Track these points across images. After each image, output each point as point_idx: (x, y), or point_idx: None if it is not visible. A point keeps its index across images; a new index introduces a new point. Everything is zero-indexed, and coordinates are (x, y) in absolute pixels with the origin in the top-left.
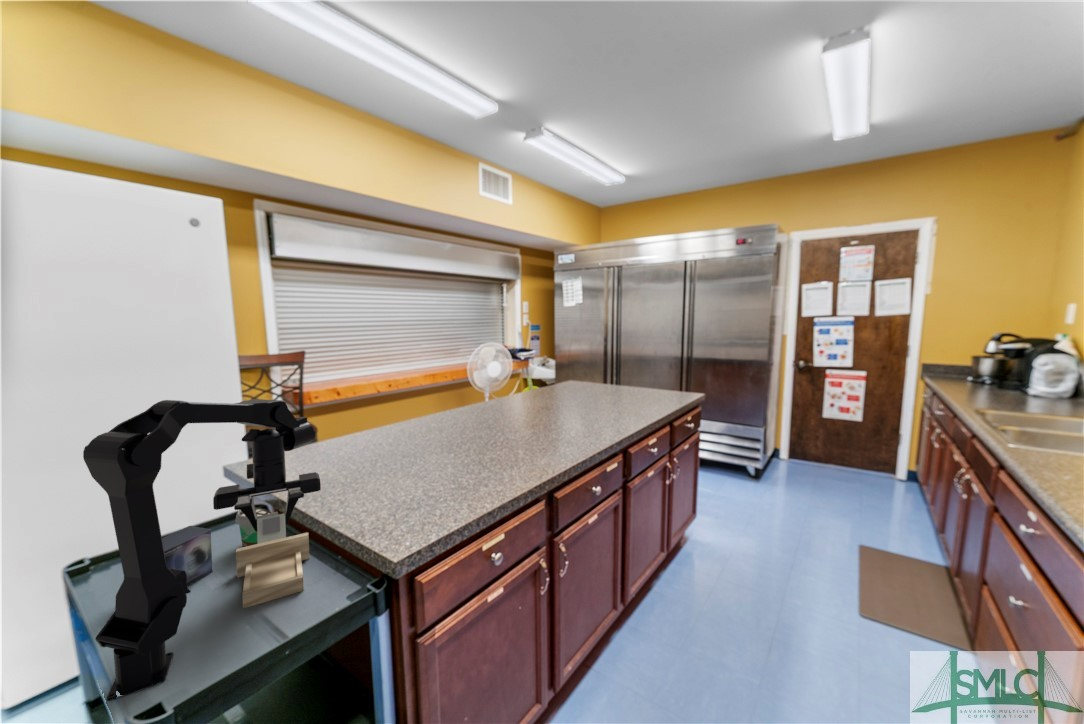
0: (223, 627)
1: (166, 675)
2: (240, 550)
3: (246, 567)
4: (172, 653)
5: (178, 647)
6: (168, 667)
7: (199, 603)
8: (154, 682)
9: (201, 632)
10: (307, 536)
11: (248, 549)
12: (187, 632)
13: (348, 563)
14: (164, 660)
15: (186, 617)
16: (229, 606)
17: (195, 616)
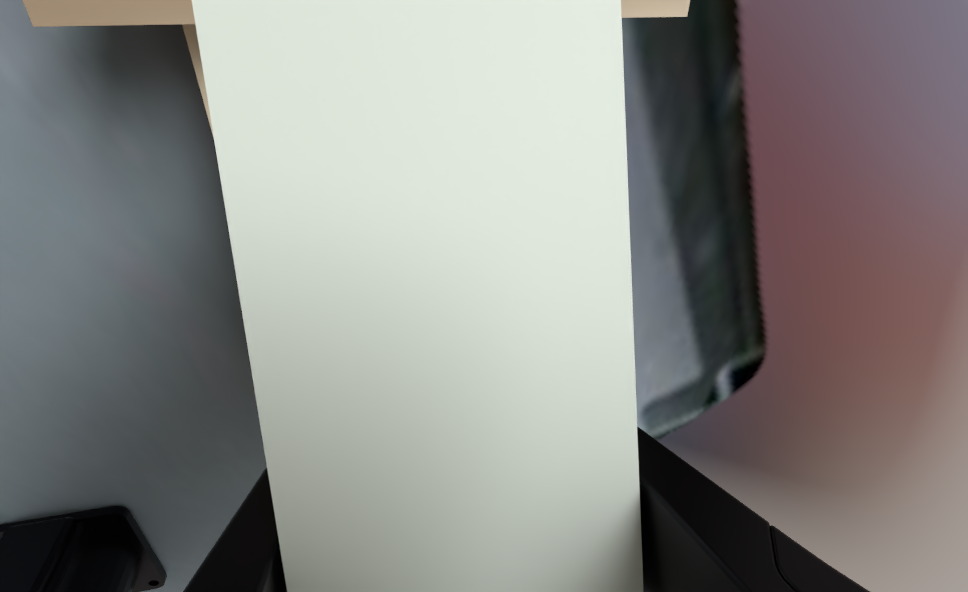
0: (249, 428)
1: (162, 571)
2: (76, 19)
3: (204, 94)
4: (124, 517)
5: (121, 475)
6: (150, 558)
7: (21, 224)
8: (142, 590)
9: (170, 430)
10: (671, 16)
11: (161, 24)
12: (105, 416)
13: (737, 186)
14: (131, 585)
15: (25, 321)
16: (219, 312)
17: (74, 329)
